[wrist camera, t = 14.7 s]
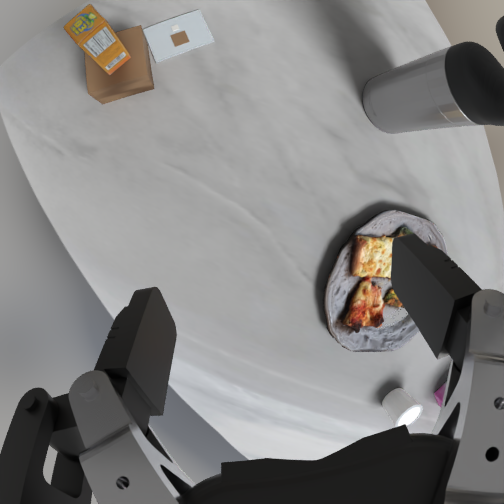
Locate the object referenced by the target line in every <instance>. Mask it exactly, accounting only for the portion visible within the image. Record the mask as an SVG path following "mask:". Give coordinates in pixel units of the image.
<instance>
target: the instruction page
mask: <svg viewBox="0 0 504 504" xmlns="http://www.w3.org/2000/svg"><path fill="white" fill-rule="evenodd" d="M143 31H144V34H145V36H146V39H147V41H148V44H149V46H150V49H151V51H152V54H153V56H154V59H155V61H156V63H158V62H160V61H163V60H165V59H168V58H170V57H173V56H175V55H178V54H181V53H183V52H186V51H189V50H192V49H195V48H198V47H200V46H203V45H207V44H210V43H213V42H215V41H214V39H213V37H212V35H211V33H210V31H209V28H208V26H207V24H206V22H205V20H204V18H203V16H202V14H201V12H200V10H196V11H193V12H190V13H187V14H184V15H181V16H178V17H175V18H172V19H169V20H166V21H164V22H161V23H158V24H156V25H153V26H151V27H148V28H146V29H143Z"/></svg>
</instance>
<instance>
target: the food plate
mask: <svg viewBox="0 0 504 504" xmlns="http://www.w3.org/2000/svg"><path fill="white" fill-rule="evenodd" d="M409 234H416V235H417V236H418V237H419V238H420V239H422V240H423V241H424V242H425V243H426V244H427V245H429V244H430V245H432V246H434V247H436V248H438V249H440V250H442V251H443V252H444V253H445V254H446V255H447V247H446V242H445V240H444V237H443V236H442V233H441V232H440V231H439V230H438V228H437V227H436V225H435V224H434V223H432V222H430V221H429V220H426V219H423V218H420V217H417V216H414V215H411V214H408V213H405V212H402V211H396V210H389V211H388V210H386V211H384V212H380V213H379V214H377V215H375V216H374V217H372V218H371V219H370V220H369V221H367V222H366V223H365V224H364V225H362V226H360V227H359V228H357V229H356V230H355V231H354V232H353V233H352V235H351V236H350V238H349V240H348V241H347V242H346V243H345V244H344V245H343V246H342V248H341V250H340V251H339V253H338V257H337V259H336V260H335V262H334V265H333V268H332V270H331V272H330V275H329V278H328V281H327V284H326V286H325V290H324V297H323V304H324V311H325V315H326V321H327V329H328V331H329V333H330V334H331V335H332V336H333V337H335V340H336V341H337V342H338V343H339V344H341V345H342V347H344V348H346V349H348V350H350V351H355V352H377V351H378V352H379V351H380V352H381V351H387V350H388V351H390V350H391V351H393V350H395V349H398V348H401V347H402V346H403V345H405V344H406V343H407V342H409V341H410V340H411V339H412V338H413V337H414V336H415V335H416V334H417V333H418V332H419V329H418V327H417V326H416V324H415V323H414V321H413V320H412V318H411V317H410V315H409V314H408V315H407V316H406V317H404V318H403V317H402V320H401V321H395V322H393V323H392V325H393V326H391V323H390V326H387V325H388V324H384V321H385V319H386V318H385V317H392V318H391V319H395V318H394V315H392V314H393V313H394V312H396V311H395V310H398V309H399V308H398V307H401V308H404V306H403V305H402V303H401V302H400V300H399V299H398V297H397V296H396V294H395V293H394V290H393V288H392V284H391V262H392V242H393V239H394V238H396V237H400V236H405V235H409ZM447 256H448V255H447ZM371 282H375V284H374V285H372V283H371ZM400 310H401V309H400ZM398 312H399V311H398ZM406 314H407V313H406ZM398 315H399V314H398ZM383 317H384V318H383ZM382 323H383V324H384V327H385V328H384V327H383V326H382ZM386 326H387V327H386ZM371 327H372V328H371ZM381 327H382V328H384V329H380V328H381ZM368 328H369V329H368ZM376 328H377V329H376ZM378 329H379V330H378Z"/></svg>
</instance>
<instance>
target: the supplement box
mask: <svg viewBox="0 0 504 504" xmlns="http://www.w3.org/2000/svg"><path fill="white" fill-rule="evenodd" d="M64 29H65V30H66V32H67V33H68V34H69V35H70V37H71V38H72V39H73V40H74V41H75V42H76V44H77V45H78V46H79V47H80V48H81V49H82V50H84V51H85V52H86V53H87V54H88V55H89V56H90V57H91V58H92V59H93V60H94V61H95V62H96V63H97V64H98V65H99V66H100V67H101V68H102V69H103V70H104V71H105V72H106V73H107V74H108V75H111V74H112V73H113V72H114V71H115V70H117V69H118V68H119V67H120V66H121V65H123V64H124V63H125V62H126V61H127V60H129V59H130V58H131V56H130V54H129V53H128V51H127V50H126V48H125V47H124V45H123V44H122V42H121V41H120V39H119V38H118V37H117V35H116V34H115V32H114V31H113V29H112V28H111V27H110V25H109V24H108V22H107V21H106V20H105V19H104V18H103V17H102V16H101V15H100V14H99V13H98V12H97V11H96V10H95V9H94V7H93V6H92V5H91V4H89V5H88V6H86V7H85V8H84V9H83V10H82V11H81V12H80V13H78V14H77V15H76V16H75V17H74V18H73V19H71V20H70V21H69V22H68V23H67V24H66V25H65V26H64Z"/></svg>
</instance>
